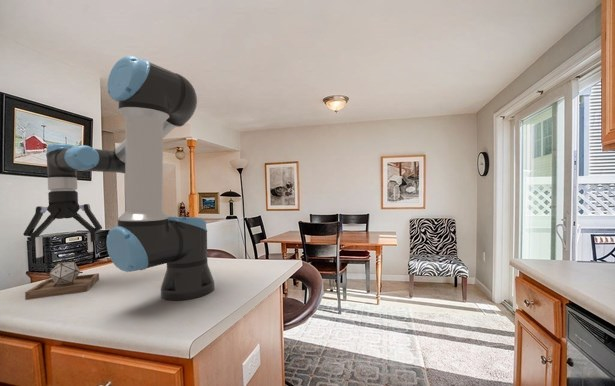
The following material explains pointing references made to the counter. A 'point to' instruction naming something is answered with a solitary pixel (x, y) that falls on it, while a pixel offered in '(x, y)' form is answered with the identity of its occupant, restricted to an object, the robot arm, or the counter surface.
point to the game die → (64, 273)
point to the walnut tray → (62, 287)
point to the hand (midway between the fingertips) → (65, 254)
